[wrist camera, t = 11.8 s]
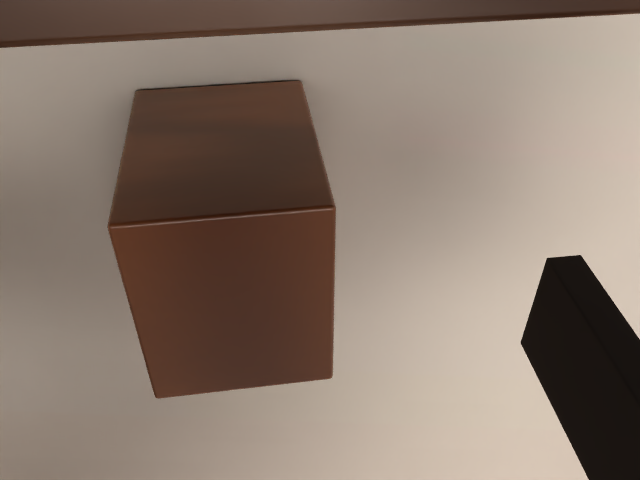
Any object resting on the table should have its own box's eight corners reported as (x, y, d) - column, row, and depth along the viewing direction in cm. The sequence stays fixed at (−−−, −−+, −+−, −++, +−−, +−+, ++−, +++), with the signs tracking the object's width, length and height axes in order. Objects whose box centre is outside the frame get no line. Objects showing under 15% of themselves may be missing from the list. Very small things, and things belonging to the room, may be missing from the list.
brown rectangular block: (166, 247, 20) (154, 400, 15) (134, 89, 16) (105, 226, 12) (304, 234, 20) (333, 380, 16) (301, 79, 17) (336, 206, 12)
